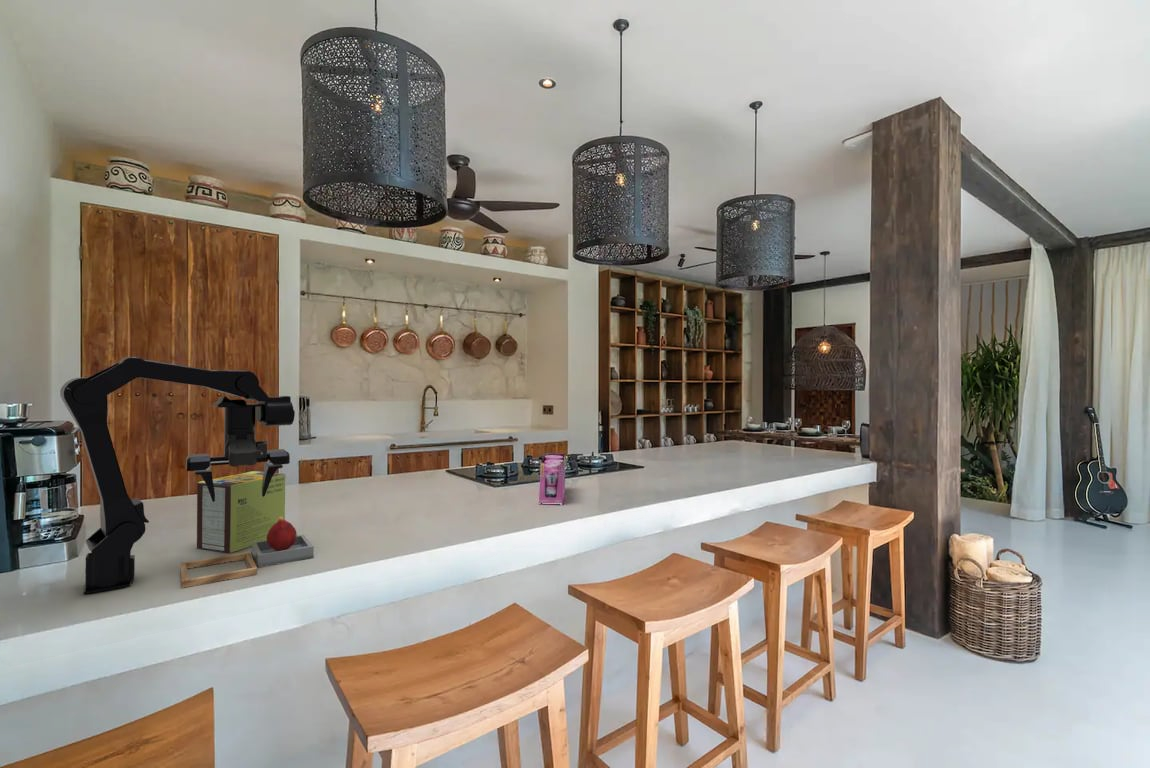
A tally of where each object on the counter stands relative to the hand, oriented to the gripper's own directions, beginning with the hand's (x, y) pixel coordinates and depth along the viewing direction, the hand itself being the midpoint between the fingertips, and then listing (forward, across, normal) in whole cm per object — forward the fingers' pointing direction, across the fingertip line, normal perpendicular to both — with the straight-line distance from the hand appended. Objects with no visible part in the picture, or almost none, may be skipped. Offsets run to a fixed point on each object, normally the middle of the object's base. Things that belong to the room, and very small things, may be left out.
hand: (239, 498), depth 115 cm
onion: (+13, +8, -4) cm, 15 cm away
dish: (+13, +8, -4) cm, 16 cm away
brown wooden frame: (+13, -4, -7) cm, 15 cm away
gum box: (+13, +92, +11) cm, 94 cm away
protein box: (+13, +2, +13) cm, 19 cm away
